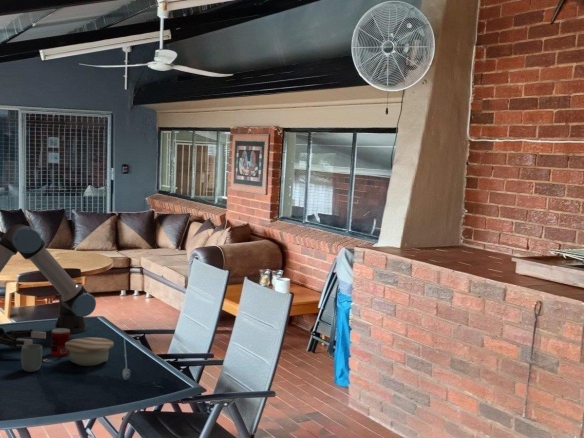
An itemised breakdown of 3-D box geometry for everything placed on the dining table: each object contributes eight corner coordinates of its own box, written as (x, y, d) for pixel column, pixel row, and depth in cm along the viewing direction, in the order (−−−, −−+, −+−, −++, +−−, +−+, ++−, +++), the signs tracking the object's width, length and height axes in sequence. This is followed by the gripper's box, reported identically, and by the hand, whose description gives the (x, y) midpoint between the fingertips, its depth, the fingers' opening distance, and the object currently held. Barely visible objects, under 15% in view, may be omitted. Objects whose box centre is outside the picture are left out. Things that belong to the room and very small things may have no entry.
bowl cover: (75, 338, 295) (75, 336, 295) (119, 341, 294) (119, 339, 294) (57, 350, 275) (57, 348, 275) (104, 354, 274) (104, 351, 274)
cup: (34, 374, 265) (35, 349, 265) (17, 372, 267) (17, 347, 266) (45, 368, 273) (46, 345, 272) (28, 366, 274) (29, 343, 274)
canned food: (72, 352, 297) (72, 328, 296) (64, 357, 289) (65, 333, 289) (55, 351, 298) (56, 327, 297) (47, 356, 290) (48, 331, 289)
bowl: (77, 355, 293) (78, 340, 293) (113, 358, 292) (113, 342, 292) (63, 366, 277) (63, 350, 277) (100, 368, 276) (101, 352, 276)
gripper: (5, 337, 307) (50, 340, 306) (-23, 351, 283) (25, 355, 282) (6, 321, 307) (50, 324, 306) (-23, 334, 282) (26, 337, 281)
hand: (39, 339), depth 294 cm, fingers open, 13 cm apart
